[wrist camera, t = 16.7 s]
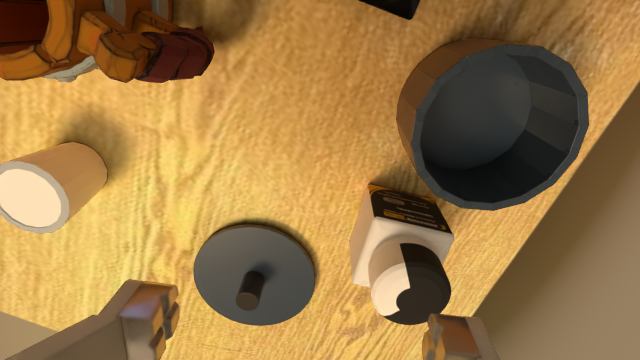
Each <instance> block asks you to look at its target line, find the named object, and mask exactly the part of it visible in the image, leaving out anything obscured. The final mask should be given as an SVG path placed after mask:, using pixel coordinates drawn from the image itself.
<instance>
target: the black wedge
mask: <svg viewBox="0 0 640 360" xmlns="http://www.w3.org/2000/svg"><path fill="white" fill-rule="evenodd" d="M359 1H361V2H364V3H366V4H369V5H371V6H374V7H377V8H379V9H382V10H384V11H387V12H389V13H392V14H395V15H397V16H400V17H402V18H405V19H407V20H411V19H412V18H413V16H414V13H415V11H416V8H417V6H418V4H419V1H420V0H359Z"/></svg>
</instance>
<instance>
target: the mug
mask: <svg viewBox="0 0 640 360" xmlns="http://www.w3.org/2000/svg"><path fill="white" fill-rule="evenodd" d="M172 18H173V4H172V1H171V0H0V77H1V78H3V79H4V80H27V79H33V78H39V77H43V78H49V79H57V80H58V81H59V82H71V81H74V80H75V79H76V78H77V76H78V75H81V74H84V73H87V72H90V71H92V70H94V69H101V70H102V71H103V73H104V74H105V75H107V76H108V77H109V78H110V79H114V80H118V81H121V82H125V83H127V82H129V81H131V80H132V79H134V78H136V79H137V80H141V81H146V82H154V83H163V82H166V81H168V80H179V79H191V78H193V77H194V76H201V75H202V74H203V72H204V71H205V70H206V69H207V67H208V66H209V64H210V63H211V61H212V58H213V55H214V52H215V51H214V46H213V43H212V42H211V41H210V40H209V39H208V38H207V36H206V35H205V34H204V32H203V27H202V26H201V27H198V28H196V29H189V28H183V27H179V26H176V25H174V24H172V23H171V21H172Z"/></svg>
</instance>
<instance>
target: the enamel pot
mask: <svg viewBox="0 0 640 360" xmlns="http://www.w3.org/2000/svg"><path fill="white" fill-rule="evenodd" d="M396 120H397V125H398V131H399V134H400V137H401V141H402V144H403V146H404V148H405V150H406V152H407V154H408V156H409V158H410V160H411V162H412V164H413V166H414V167H415V169H416V171H417V173H418V175H419V176H420V177H421V178H422V179H423V181H424V182H425V183H426V184H427V186H428V187H429V188H430V189H431V190H432V192H433V193H434V194H435V195H436V196H438V197H440V198H442V199H444V200H446V201H448V202H450V203H452V204H454V205H456V206H458V207H460V208H467V209H479V210H491V211H492V210H493V211H494V210H498V209H502V208H506V207H510V206H514V205H518V204H522V203H525V202H527V201H528V200H530V199H531V198H533V197H535V196H536V195H538V194H539V193H541V192H543V191H544V190H546V189H547V188H549V187H551V186H552V185H554V184H555V183H556V182H557V180H558V179H559V178H560V177H561V176H562V174H563V173H564V172H565V171H566V170H567V169H568V167H569V166H570V165H571V164H572V163H573V162H574V160H575V159H576V157H577V156H578V153H579V150H580V148H581V145H582V142H583V140H584V137H585V134H586V132H587V129H588V125H589V116H588V96H587V91H586V89H585V88H584V86H583V84H582V83H581V81H580V79H579V77H578V76H577V74H576V72H575V71H574V69H573V67H572V65H571V64H570V63H568V62H567V61H565V60H563V59H562V58H560V57H558V56H557V55H555V54H553V53H552V52H550V51H548V50H546V49H545V48H543V47H540V46H535V45H529V44H522V43H515V42H509V41H502V40H493V39H483V38H467V39H464V40H459V41H456V42H452V43H450V44H447V45H445V46H443V47H440V48H439V49H437V50H435V51H434V52H432V53H431V54H430V55H428V56H427V57H426V58H425V59H424V60H422V61H421V62H420V63H419V64H418V65H417V67H416V68H415V69H414V70H413V71H412V73H411V74H410V76H409V77H408V79H407V80H406V82H405V84H404V86H403V88H402V91H401V93H400V97H399V101H398V106H397V118H396Z"/></svg>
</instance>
